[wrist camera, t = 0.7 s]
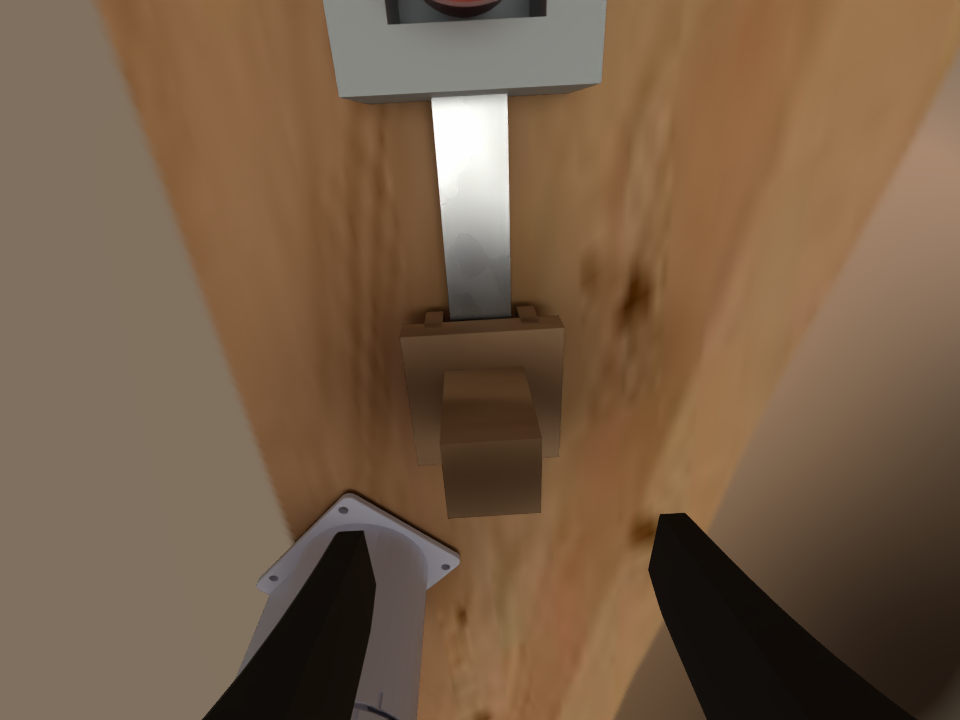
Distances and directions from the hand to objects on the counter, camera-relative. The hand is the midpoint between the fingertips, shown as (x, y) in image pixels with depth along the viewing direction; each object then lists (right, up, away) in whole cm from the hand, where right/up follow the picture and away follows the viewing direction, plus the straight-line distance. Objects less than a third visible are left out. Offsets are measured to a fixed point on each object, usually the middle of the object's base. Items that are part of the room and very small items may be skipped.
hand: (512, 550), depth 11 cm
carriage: (-1, +4, +9) cm, 10 cm away
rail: (-1, +8, +8) cm, 11 cm away
